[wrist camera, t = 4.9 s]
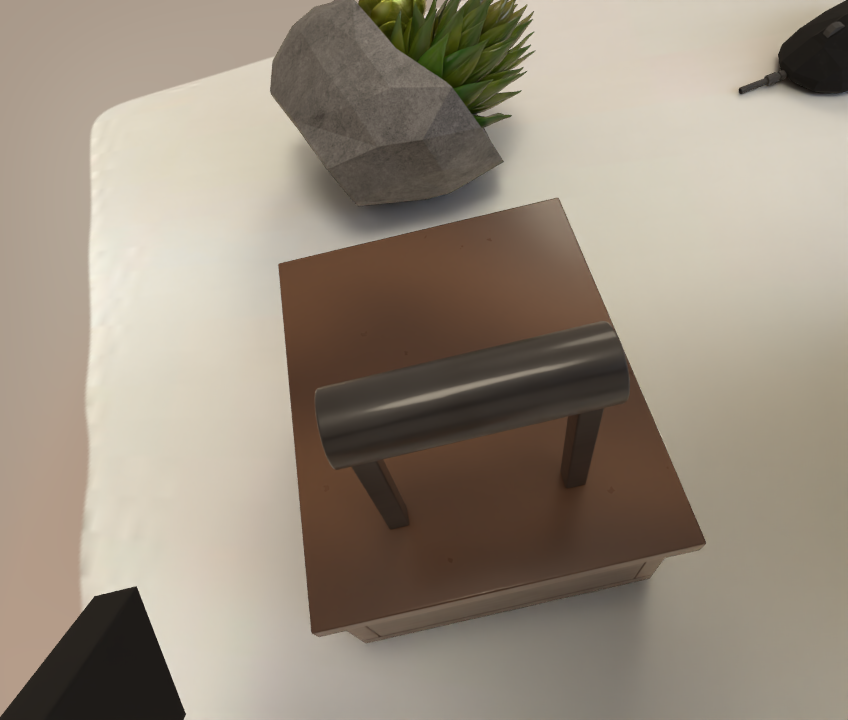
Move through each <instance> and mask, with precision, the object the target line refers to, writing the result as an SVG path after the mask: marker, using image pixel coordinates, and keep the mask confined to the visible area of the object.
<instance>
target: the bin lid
mask: <svg viewBox="0 0 848 720" xmlns="http://www.w3.org/2000/svg"><path fill="white" fill-rule="evenodd" d="M278 266H279V277H280V288H281V300H282V311H283V322H284V333H285V344H286V355H287V366H288V378H289V389H290V400H291V411H292V422H293V433H294V444H295V455H296V467H297V478H298V489H299V500H300V511H301V522H302V533H303V545H304V556H305V567H306V578H307V589H308V600H309V611H310V622H311V632H312V634H314V635H316V636H318V637H322V636H326V635H330V634H335V633H339V632H344V631H348V630H352V629H357V628H361V627H365V626H370V625H374V624H378V623H383V622H387V621H392V620H396V619H400V618H405V617H409V616H413V615H418V614H422V613H427V612H431V611H435V610H440V609H444V608H448V607H453V606H457V605H461V604H466V603H470V602H475V601H479V600H483V599H488V598H492V597H496V596H501V595H505V594H509V593H514V592H518V591H523V590H527V589H531V588H536V587H540V586H544V585H549V584H553V583H558V582H562V581H566V580H571V579H575V578H579V577H584V576H588V575H592V574H597V573H601V572H606V571H610V570H614V569H619V568H623V567H627V566H632V565H636V564H641V563H645V562H649V561H654V560H658V559H662V558H667V557H671V556H675V555H680V554H684V553H689V552H693V551H697V550H700V549H701V548H702V547H703V546H704V545H705V544H706V541H705V539H704V536H703V534H702V532H701V529H700V527H699V525H698V522H697V520H696V518H695V515H694V513H693V511H692V508H691V506H690V504H689V501H688V499H687V497H686V494H685V492H684V490H683V487H682V485H681V483H680V480H679V478H678V476H677V473H676V471H675V469H674V466H673V464H672V462H671V459H670V457H669V455H668V452H667V450H666V448H665V445H664V443H663V441H662V438H661V436H660V434H659V431H658V429H657V426H656V424H655V422H654V419H653V417H652V415H651V412H650V410H649V408H648V405H647V403H646V401H645V398H644V396H643V394H642V391H641V389H640V387H639V384H638V382H637V380H636V377H635V375H634V373H633V370H632V368H631V366H630V363H629V361H628V359H627V356H626V354H625V352H624V349H623V347H622V344H621V342H620V339H619V337H618V335H617V333H616V331H615V328H614V326H613V324H612V321H611V319H610V317H609V314H608V312H607V310H606V307H605V305H604V303H603V300H602V298H601V296H600V293H599V291H598V289H597V286H596V284H595V282H594V279H593V277H592V275H591V272H590V270H589V268H588V265H587V263H586V261H585V258H584V256H583V254H582V251H581V249H580V247H579V244H578V242H577V240H576V237H575V235H574V233H573V230H572V228H571V226H570V223H569V221H568V219H567V216H566V214H565V212H564V209H563V207H562V205H561V202H560V200H559V198H554V199H550V200H546V201H541V202H537V203H533V204H529V205H524V206H520V207H516V208H512V209H508V210H503V211H499V212H495V213H491V214H486V215H482V216H478V217H474V218H470V219H465V220H461V221H457V222H453V223H448V224H444V225H440V226H436V227H432V228H427V229H423V230H419V231H415V232H410V233H406V234H402V235H398V236H394V237H389V238H385V239H381V240H377V241H372V242H368V243H364V244H360V245H356V246H351V247H347V248H343V249H339V250H334V251H330V252H326V253H322V254H318V255H313V256H309V257H305V258H301V259H296V260H292V261H288V262H284V263H280V264H279V265H278Z"/></svg>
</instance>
